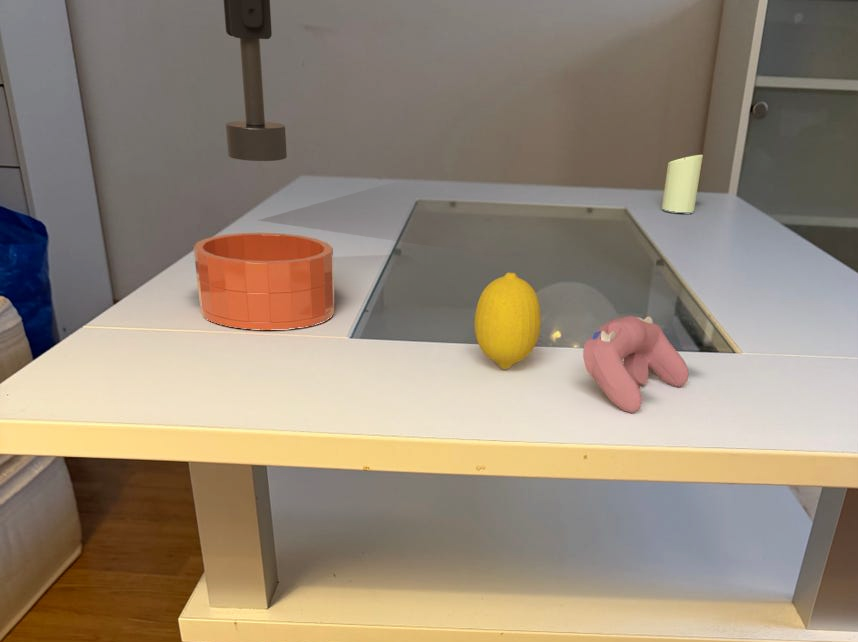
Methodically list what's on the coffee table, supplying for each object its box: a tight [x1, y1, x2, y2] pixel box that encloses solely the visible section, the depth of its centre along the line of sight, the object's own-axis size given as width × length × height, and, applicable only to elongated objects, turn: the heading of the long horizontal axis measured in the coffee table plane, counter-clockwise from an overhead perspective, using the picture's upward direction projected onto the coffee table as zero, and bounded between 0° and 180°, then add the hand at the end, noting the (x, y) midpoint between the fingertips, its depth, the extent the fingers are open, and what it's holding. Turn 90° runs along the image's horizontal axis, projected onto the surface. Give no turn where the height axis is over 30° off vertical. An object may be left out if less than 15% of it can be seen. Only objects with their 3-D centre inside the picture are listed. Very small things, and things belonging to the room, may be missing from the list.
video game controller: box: [582, 315, 689, 414], centre depth 80 cm, size 10×5×7 cm, turn 144°
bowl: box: [193, 232, 335, 330], centre depth 93 cm, size 13×13×6 cm
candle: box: [661, 154, 704, 213], centre depth 151 cm, size 5×5×8 cm
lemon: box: [474, 272, 542, 370], centre depth 82 cm, size 6×6×8 cm
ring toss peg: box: [225, 38, 288, 162], centre depth 82 cm, size 5×5×14 cm
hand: (248, 35), depth 81 cm, fingers closed on ring toss peg
